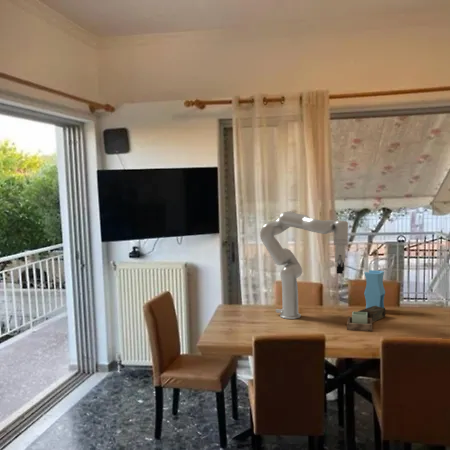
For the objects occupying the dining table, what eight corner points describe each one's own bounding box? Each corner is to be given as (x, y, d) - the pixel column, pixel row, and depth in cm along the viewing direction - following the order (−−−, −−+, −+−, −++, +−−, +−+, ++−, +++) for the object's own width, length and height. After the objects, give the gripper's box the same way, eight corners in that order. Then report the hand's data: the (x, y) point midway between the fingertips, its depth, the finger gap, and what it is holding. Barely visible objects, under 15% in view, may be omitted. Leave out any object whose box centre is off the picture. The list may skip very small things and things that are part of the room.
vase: (369, 308, 290) (369, 270, 288) (385, 310, 284) (385, 271, 282) (364, 312, 282) (364, 272, 280) (380, 314, 276) (380, 273, 274)
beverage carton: (385, 317, 269) (385, 306, 269) (369, 324, 256) (369, 313, 256) (373, 315, 275) (373, 304, 275) (356, 321, 262) (356, 310, 262)
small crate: (352, 326, 249) (351, 314, 249) (352, 323, 256) (352, 311, 255) (367, 327, 247) (367, 315, 246) (367, 324, 253) (367, 312, 253)
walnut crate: (347, 329, 247) (347, 323, 246) (348, 322, 260) (348, 316, 260) (372, 331, 243) (372, 324, 242) (372, 324, 256) (372, 318, 256)
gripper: (335, 240, 268) (335, 269, 269) (332, 243, 252) (332, 274, 253) (348, 241, 265) (348, 269, 267) (346, 244, 249) (346, 275, 250)
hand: (340, 272), depth 260 cm, fingers open, 9 cm apart
